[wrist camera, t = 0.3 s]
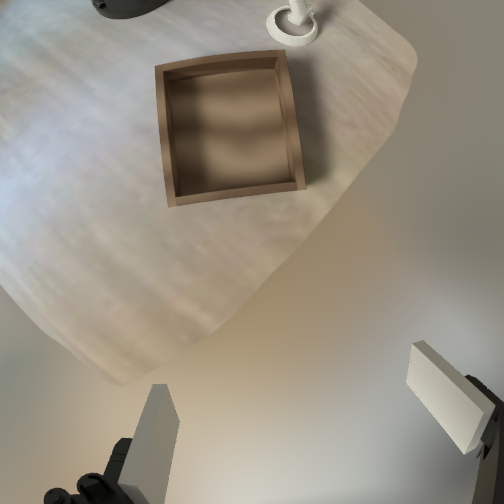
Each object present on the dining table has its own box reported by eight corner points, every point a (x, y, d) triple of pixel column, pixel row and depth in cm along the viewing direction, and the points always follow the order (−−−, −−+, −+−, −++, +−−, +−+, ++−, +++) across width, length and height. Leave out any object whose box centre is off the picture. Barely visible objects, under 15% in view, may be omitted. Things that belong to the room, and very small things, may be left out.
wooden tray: (163, 79, 35) (154, 66, 30) (279, 64, 35) (284, 49, 31) (176, 205, 39) (168, 207, 34) (297, 189, 39) (306, 189, 34)
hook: (265, -33, 27) (309, -36, 24) (289, 24, 38) (328, 28, 35) (237, -14, 27) (283, -17, 24) (267, 48, 37) (308, 53, 34)
